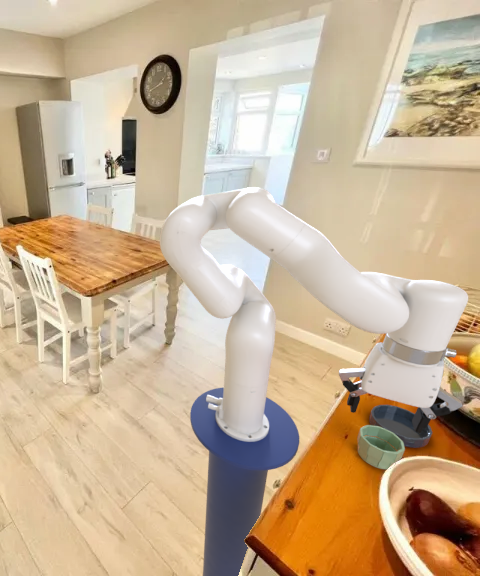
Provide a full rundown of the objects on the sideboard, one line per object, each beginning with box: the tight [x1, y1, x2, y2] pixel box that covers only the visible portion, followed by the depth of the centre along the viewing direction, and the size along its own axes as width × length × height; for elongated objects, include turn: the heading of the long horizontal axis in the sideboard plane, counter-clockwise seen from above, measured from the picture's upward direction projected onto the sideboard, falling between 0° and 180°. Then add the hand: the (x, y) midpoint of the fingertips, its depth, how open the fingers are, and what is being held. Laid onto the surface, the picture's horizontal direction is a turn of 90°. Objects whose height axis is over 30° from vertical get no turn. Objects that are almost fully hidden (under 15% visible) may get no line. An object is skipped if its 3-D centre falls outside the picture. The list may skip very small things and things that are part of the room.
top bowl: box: [356, 424, 406, 470], centre depth 64 cm, size 7×7×6 cm
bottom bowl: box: [368, 404, 433, 449], centre depth 70 cm, size 10×10×2 cm
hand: (382, 417), depth 62 cm, fingers open, 9 cm apart
